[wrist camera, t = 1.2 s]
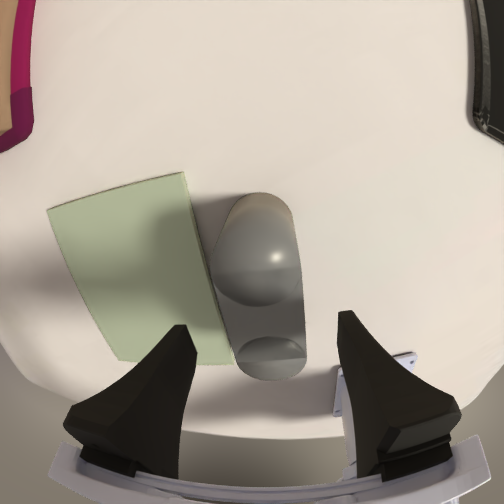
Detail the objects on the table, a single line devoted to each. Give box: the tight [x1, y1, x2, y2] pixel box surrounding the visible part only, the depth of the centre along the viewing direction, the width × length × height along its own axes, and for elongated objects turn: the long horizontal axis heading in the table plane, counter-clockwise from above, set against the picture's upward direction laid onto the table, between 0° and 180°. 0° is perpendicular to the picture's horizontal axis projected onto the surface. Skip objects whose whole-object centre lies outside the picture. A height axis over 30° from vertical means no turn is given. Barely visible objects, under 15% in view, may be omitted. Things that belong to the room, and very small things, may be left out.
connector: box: [210, 193, 307, 381], centre depth 16 cm, size 12×4×6 cm, turn 9°
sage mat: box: [47, 172, 235, 365], centre depth 20 cm, size 16×12×1 cm
